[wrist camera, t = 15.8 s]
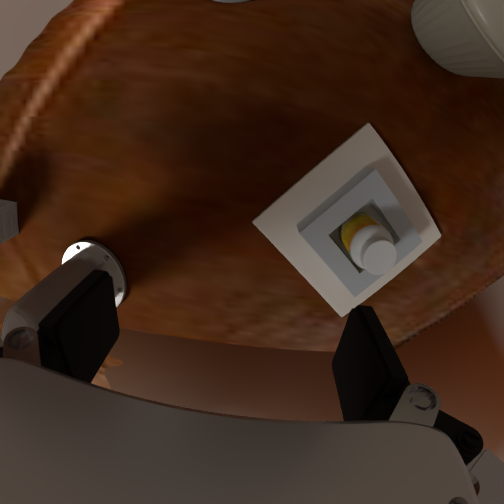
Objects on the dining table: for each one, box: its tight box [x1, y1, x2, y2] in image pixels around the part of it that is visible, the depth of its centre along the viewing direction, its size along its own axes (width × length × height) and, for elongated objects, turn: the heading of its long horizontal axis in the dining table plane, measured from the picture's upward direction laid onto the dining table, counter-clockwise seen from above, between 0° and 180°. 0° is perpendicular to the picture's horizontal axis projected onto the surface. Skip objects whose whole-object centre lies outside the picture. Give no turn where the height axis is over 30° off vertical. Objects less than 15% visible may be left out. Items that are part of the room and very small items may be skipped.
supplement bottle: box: [339, 211, 397, 275], centre depth 33 cm, size 5×5×10 cm
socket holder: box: [252, 123, 441, 317], centre depth 36 cm, size 20×20×4 cm
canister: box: [411, 0, 504, 78], centre depth 16 cm, size 18×18×21 cm
